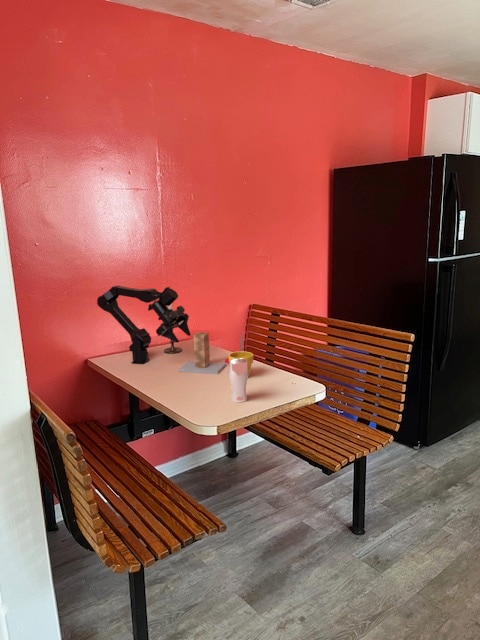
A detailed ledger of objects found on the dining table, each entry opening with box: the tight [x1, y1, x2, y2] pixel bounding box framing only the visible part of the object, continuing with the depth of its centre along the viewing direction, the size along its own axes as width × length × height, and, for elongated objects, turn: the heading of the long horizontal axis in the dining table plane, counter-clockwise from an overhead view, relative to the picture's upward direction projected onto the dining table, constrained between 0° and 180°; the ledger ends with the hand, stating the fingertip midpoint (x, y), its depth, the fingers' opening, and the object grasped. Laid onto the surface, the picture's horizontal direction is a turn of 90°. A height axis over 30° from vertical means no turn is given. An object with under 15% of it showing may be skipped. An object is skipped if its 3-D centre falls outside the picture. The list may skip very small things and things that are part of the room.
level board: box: [178, 360, 227, 375], centre depth 215 cm, size 18×12×1 cm, turn 74°
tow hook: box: [224, 334, 245, 364], centre depth 224 cm, size 8×13×9 cm
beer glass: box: [228, 358, 249, 403], centre depth 177 cm, size 7×7×15 cm
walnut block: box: [192, 331, 211, 368], centre depth 213 cm, size 5×5×15 cm
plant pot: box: [228, 350, 254, 378], centre depth 202 cm, size 10×10×10 cm
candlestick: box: [159, 283, 183, 355], centre depth 241 cm, size 11×11×35 cm
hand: (184, 338), depth 216 cm, fingers open, 9 cm apart
